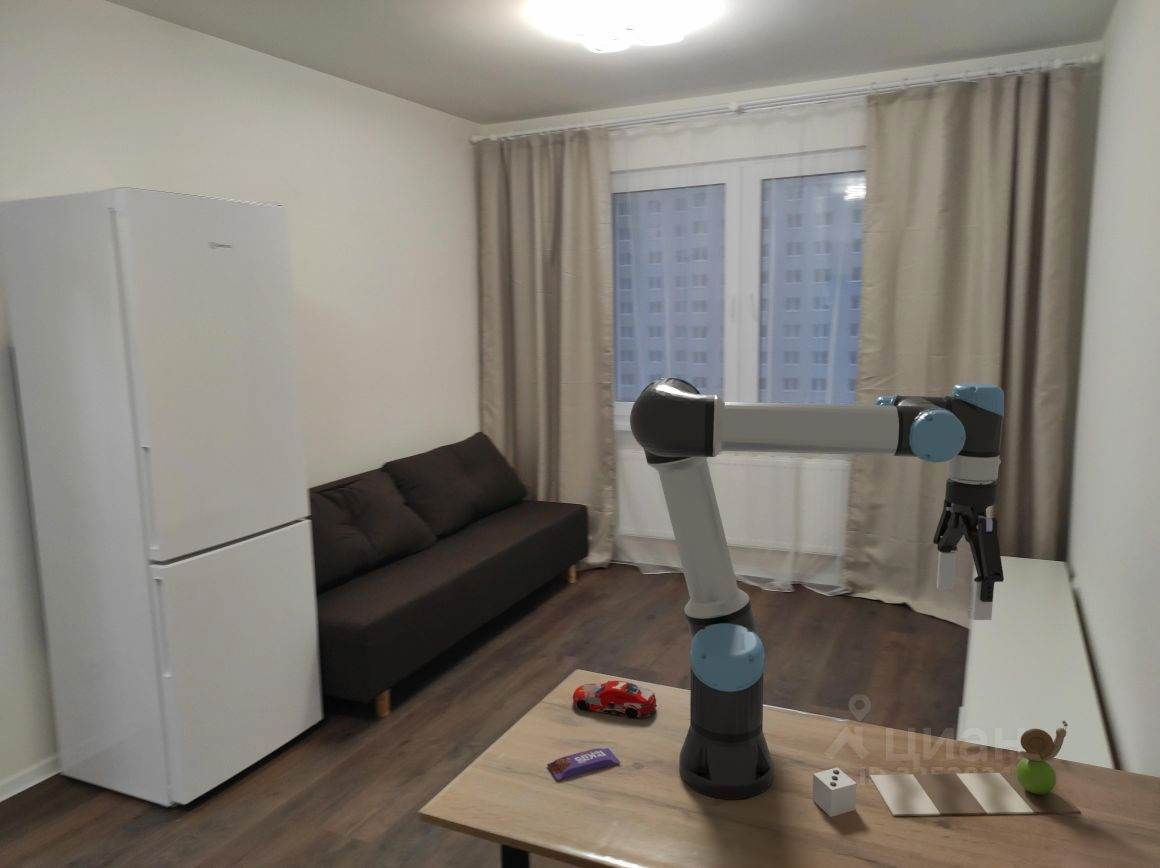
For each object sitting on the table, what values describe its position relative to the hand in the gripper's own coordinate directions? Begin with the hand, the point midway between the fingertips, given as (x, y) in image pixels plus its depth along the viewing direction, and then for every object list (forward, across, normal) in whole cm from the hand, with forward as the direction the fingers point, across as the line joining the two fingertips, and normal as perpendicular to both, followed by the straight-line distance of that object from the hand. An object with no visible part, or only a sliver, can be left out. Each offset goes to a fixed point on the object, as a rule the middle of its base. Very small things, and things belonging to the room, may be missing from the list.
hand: (962, 603), depth 134 cm
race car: (+27, +14, +58) cm, 66 cm away
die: (+26, -16, +25) cm, 40 cm away
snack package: (+28, -6, +63) cm, 69 cm away
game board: (+26, -14, +3) cm, 30 cm away
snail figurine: (+26, -14, -8) cm, 30 cm away
